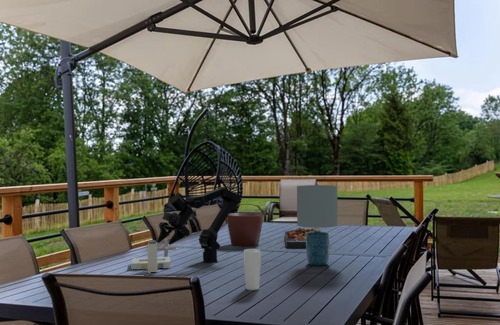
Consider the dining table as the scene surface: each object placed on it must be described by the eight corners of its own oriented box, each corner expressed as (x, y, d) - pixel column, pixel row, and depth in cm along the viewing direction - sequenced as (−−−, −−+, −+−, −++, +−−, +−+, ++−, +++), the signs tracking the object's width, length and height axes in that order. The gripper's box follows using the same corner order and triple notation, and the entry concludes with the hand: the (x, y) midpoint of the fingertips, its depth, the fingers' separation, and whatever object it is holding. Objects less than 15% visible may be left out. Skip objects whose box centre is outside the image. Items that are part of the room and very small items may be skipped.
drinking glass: (260, 286, 191) (260, 248, 192) (261, 291, 185) (261, 251, 185) (243, 287, 191) (243, 248, 191) (243, 291, 184) (243, 251, 185)
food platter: (329, 249, 280) (329, 231, 280) (286, 249, 281) (286, 231, 281) (321, 237, 325) (321, 222, 325) (284, 238, 326) (284, 222, 326)
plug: (157, 270, 223) (156, 240, 223) (157, 272, 219) (156, 241, 219) (148, 271, 222) (148, 240, 222) (147, 273, 218) (147, 241, 219)
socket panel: (170, 262, 242) (170, 256, 242) (170, 268, 228) (170, 262, 228) (133, 264, 239) (133, 258, 239) (130, 270, 225) (130, 263, 225)
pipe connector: (157, 260, 248) (157, 240, 248) (155, 256, 258) (155, 238, 258) (176, 259, 251) (176, 239, 251) (174, 255, 260) (174, 237, 260)
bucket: (266, 242, 305) (265, 202, 305) (263, 248, 283) (263, 205, 283) (227, 242, 307) (227, 202, 307) (221, 247, 285) (221, 205, 285)
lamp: (290, 262, 240) (290, 185, 240) (325, 259, 246) (324, 184, 247) (309, 269, 222) (308, 187, 222) (345, 266, 228) (344, 186, 229)
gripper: (161, 205, 236) (141, 230, 228) (184, 207, 222) (164, 233, 214) (175, 220, 241) (156, 245, 233) (198, 223, 227) (179, 249, 220)
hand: (163, 243), depth 225 cm, fingers open, 9 cm apart
